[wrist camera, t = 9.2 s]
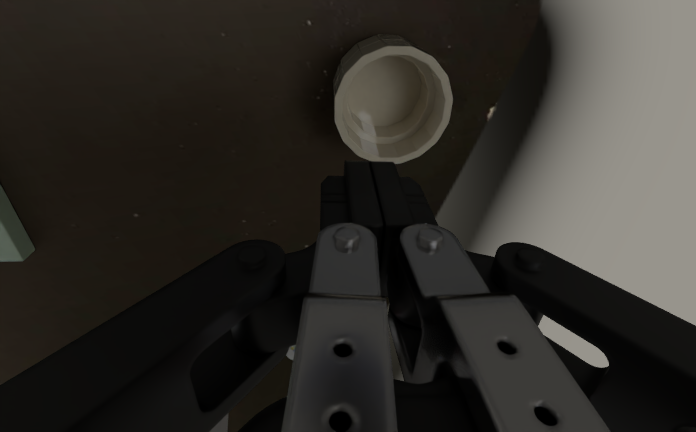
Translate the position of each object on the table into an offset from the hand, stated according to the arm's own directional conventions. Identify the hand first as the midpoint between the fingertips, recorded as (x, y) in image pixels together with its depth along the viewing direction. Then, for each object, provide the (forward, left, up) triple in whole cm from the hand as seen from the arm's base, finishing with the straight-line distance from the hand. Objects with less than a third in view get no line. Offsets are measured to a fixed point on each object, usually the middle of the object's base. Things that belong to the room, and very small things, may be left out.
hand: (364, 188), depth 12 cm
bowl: (0, +2, -13) cm, 13 cm away
